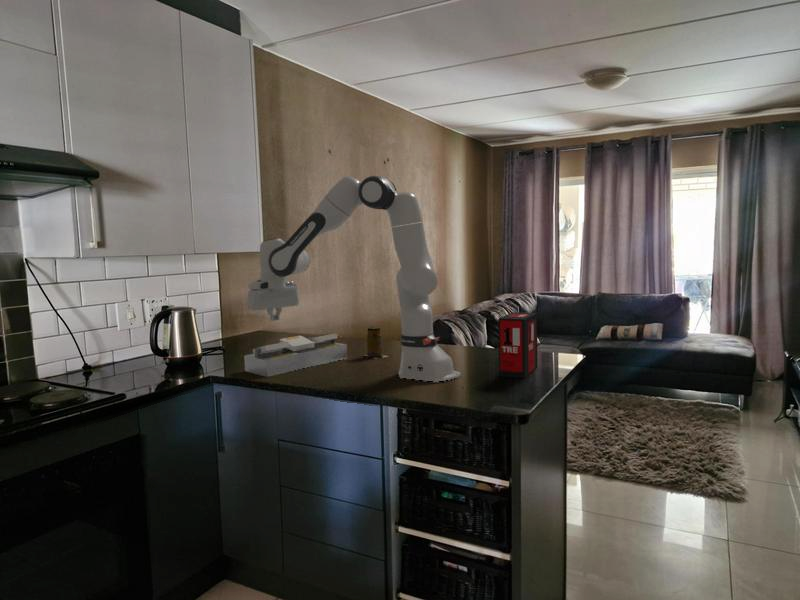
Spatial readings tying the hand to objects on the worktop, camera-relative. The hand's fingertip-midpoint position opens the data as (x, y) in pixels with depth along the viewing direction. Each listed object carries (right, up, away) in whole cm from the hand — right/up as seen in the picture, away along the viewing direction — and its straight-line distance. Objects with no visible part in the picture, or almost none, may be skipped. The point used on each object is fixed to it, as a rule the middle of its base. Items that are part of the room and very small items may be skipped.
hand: (274, 320), depth 204 cm
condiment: (+36, -16, +25) cm, 47 cm away
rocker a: (+14, -8, +21) cm, 26 cm away
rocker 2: (+6, -9, +12) cm, 16 cm away
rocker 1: (-2, -11, +3) cm, 11 cm away
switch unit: (+6, -18, +13) cm, 23 cm away
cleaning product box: (+88, -18, -9) cm, 91 cm away
